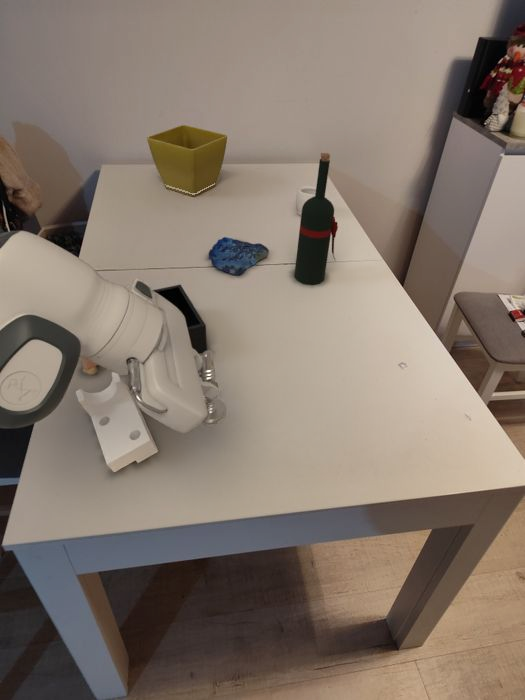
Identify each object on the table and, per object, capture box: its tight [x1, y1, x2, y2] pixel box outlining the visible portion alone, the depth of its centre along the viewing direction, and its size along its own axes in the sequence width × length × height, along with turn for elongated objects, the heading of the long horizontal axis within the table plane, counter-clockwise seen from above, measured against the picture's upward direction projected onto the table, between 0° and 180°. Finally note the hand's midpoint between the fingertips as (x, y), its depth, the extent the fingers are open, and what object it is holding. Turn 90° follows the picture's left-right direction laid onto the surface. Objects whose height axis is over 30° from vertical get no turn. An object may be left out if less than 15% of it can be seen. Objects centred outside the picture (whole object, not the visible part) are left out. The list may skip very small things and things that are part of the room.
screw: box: [200, 349, 228, 428], centre depth 59 cm, size 13×5×5 cm
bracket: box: [75, 372, 159, 473], centre depth 71 cm, size 13×7×8 cm, turn 29°
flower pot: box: [146, 124, 228, 198], centre depth 149 cm, size 19×19×17 cm
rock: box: [208, 236, 270, 276], centre depth 119 cm, size 15×17×2 cm
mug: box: [295, 185, 316, 217], centre depth 141 cm, size 12×8×8 cm
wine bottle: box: [293, 152, 339, 286], centre depth 104 cm, size 8×10×30 cm
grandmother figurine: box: [79, 356, 99, 376], centre depth 81 cm, size 8×4×13 cm, turn 8°
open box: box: [151, 284, 208, 355], centre depth 90 cm, size 16×16×7 cm
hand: (213, 382), depth 59 cm, fingers closed on screw, 2 cm apart
